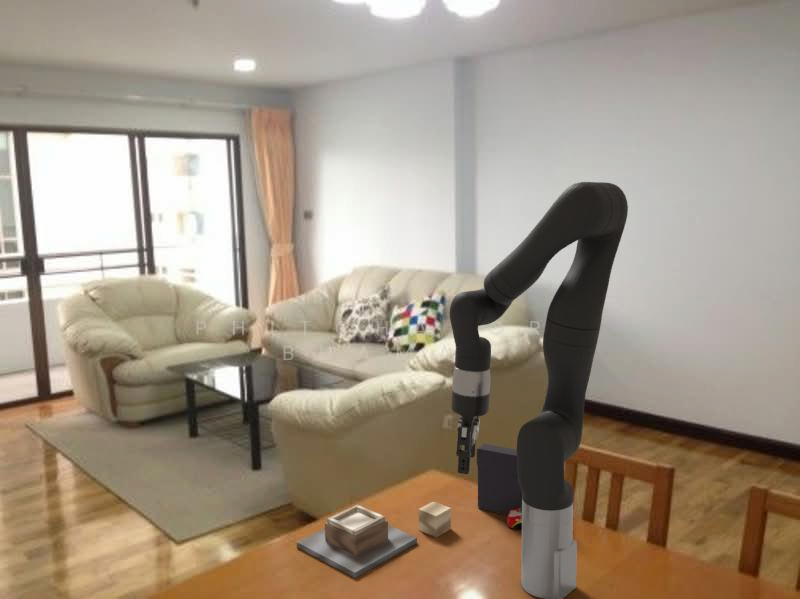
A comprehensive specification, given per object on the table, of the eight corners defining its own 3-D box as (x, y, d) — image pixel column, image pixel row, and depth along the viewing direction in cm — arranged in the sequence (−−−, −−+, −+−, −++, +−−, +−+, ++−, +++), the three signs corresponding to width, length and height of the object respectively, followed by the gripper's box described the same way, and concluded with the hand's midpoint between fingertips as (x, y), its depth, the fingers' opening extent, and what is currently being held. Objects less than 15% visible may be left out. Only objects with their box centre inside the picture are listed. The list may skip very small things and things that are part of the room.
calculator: (527, 512, 160) (528, 450, 158) (521, 519, 157) (521, 456, 154) (484, 502, 166) (483, 442, 164) (476, 509, 162) (476, 448, 160)
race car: (567, 524, 155) (568, 507, 154) (568, 536, 150) (568, 518, 149) (507, 519, 158) (507, 502, 157) (506, 530, 153) (506, 513, 152)
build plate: (417, 542, 148) (416, 515, 147) (355, 578, 135) (354, 548, 134) (358, 516, 160) (357, 491, 159) (296, 547, 147) (295, 519, 146)
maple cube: (450, 529, 153) (450, 508, 153) (436, 537, 150) (435, 516, 149) (433, 522, 157) (433, 501, 156) (418, 530, 153) (418, 509, 152)
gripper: (485, 402, 132) (480, 482, 135) (493, 380, 145) (488, 453, 148) (446, 397, 133) (442, 476, 136) (457, 376, 147) (453, 449, 150)
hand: (466, 464), depth 142 cm, fingers open, 8 cm apart
